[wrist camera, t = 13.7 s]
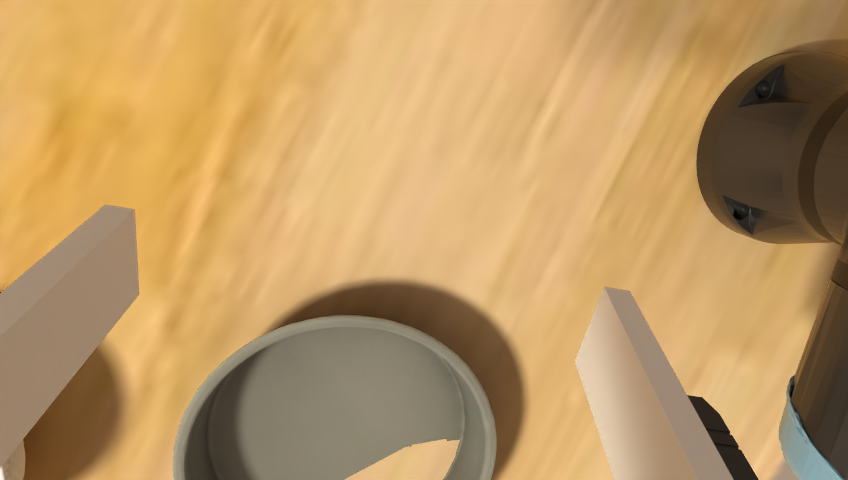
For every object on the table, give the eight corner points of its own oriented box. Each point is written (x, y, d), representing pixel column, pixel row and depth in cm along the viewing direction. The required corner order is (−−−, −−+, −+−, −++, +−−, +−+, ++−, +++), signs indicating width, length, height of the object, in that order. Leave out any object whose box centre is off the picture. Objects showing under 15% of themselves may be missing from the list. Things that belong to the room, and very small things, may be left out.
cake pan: (137, 505, 48) (118, 547, 43) (264, 243, 44) (258, 262, 39) (401, 583, 54) (408, 626, 50) (534, 362, 50) (553, 389, 46)
